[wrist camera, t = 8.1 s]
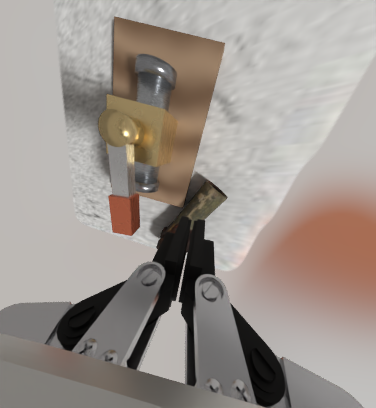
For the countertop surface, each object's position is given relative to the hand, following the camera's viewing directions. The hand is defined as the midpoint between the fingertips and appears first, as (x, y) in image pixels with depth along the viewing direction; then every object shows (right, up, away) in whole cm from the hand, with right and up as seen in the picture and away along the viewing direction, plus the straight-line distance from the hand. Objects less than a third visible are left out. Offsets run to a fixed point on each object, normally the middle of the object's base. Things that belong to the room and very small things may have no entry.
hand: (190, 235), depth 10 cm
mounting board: (-5, +15, +14) cm, 21 cm away
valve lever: (-7, +6, +8) cm, 12 cm away
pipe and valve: (-6, +14, +13) cm, 20 cm away
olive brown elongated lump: (+1, -1, +20) cm, 20 cm away
